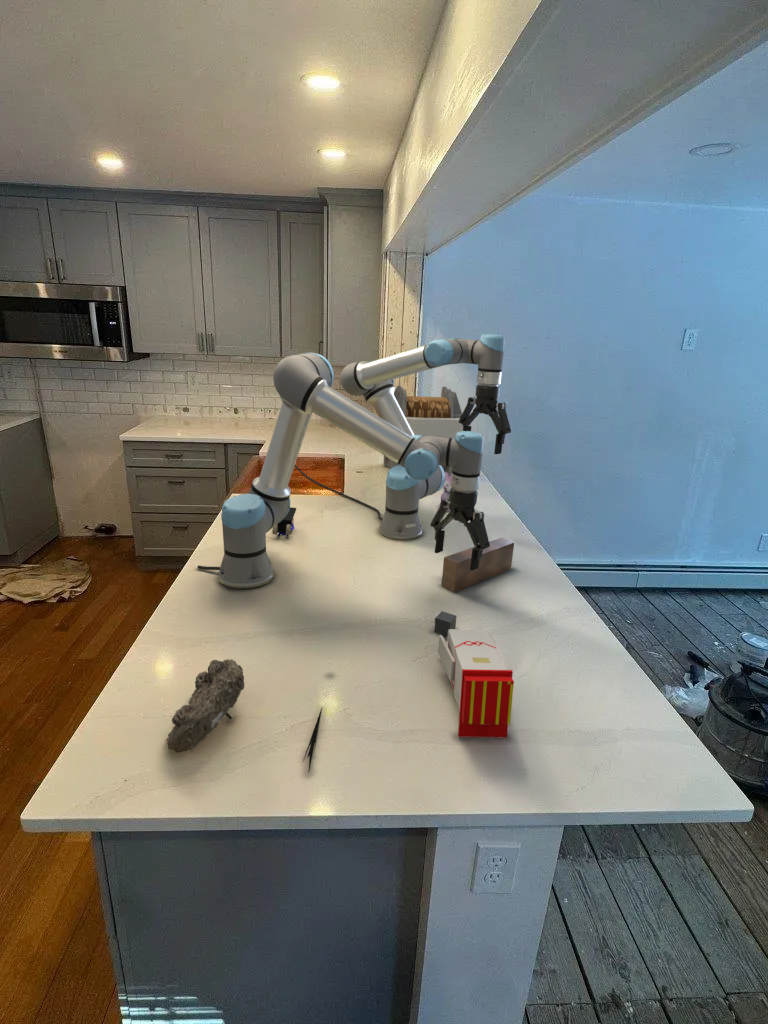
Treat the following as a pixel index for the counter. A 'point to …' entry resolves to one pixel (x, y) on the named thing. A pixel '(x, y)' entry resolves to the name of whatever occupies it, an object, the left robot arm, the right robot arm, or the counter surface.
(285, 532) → the figurine character
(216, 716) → the fossil
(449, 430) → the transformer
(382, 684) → the counter surface
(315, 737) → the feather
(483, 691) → the toy
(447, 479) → the figurine
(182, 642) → the counter surface
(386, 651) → the counter surface
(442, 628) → the slate block
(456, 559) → the bar
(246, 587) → the left robot arm
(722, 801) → the counter surface
